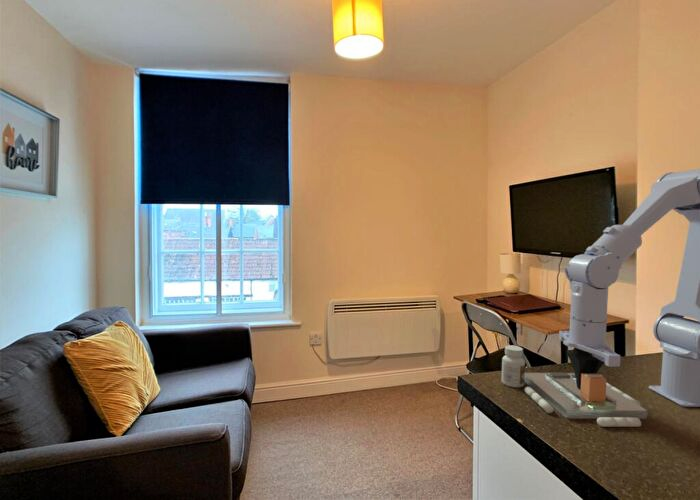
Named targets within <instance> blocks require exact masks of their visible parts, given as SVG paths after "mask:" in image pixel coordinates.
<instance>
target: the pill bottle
mask: <svg viewBox="0 0 700 500" xmlns="http://www.w3.org/2000/svg"><path fill="white" fill-rule="evenodd" d="M504 354H505V355H504V356H503V357H502V358H501V378H500V379H501V380H500V381H501V383H502V384H504V386H506V387H510V388H521V387H524V386H525V382H524V375H525V373H526V361H525V359H524V358H523V355H524V348H522V347H521V346H518V345H513V344H512V345H510V344H508V345H505V346H504Z"/></svg>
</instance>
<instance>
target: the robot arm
mask: <svg viewBox="0 0 700 500" xmlns="http://www.w3.org/2000/svg"><path fill="white" fill-rule="evenodd" d="M672 210H673V211H674V212H676V213H678V214H679V215H682V216H683V217H684V218H685V219H686V220H687V221H688V222H689V224H688V225H689V226H688V232H687V235H686V240H685V246H684V250H683V251H684V252H683V257H682V261H681V267H680V271H679V277H678V282H677V287H676V291H675V298H674V300H673V301H671V302H669V303H667V304H665V305H663V306H661V308H660V313H659V316H658V318H656V320H655V322H654V324H653V327H652V330H653V331H652V332H653V335H654V338H655V339H656V341H658V342H659V347H660V348H662V349H663V350H662V359H661V360H662V361H661V362H662V363H661V373H660V374H661V376H660V385H649V386H648V389H650V390H651V391H653V392H655V393H657V394H659V395H661V396H663V397H664V398H667V399H668V400H670V401H672V402H674V403H675V404H677V405H679V406H682V407H687V408H688V407H689V408H691V407H693V408H694V407H696V408H698V407H699V408H700V168H696V169H689V170H684V171H683V170H682V171H677V172H672V171H671V172H666V173H664V174H662V175H661V176H660V177H658V179H657V180H656V181H655V182H654V183H652V184H651V186H650V193H649V194H648V195H647V196H646V197H645V199H644V200H643V201H642V202H641V203H640V204H639V205H638V206H637V208H636V209H634V211H633V212H632V213H631V214H630V216H629V217H628V218H626V220H625V221H624V222H623V224H614V225H611V226H607V227H606V228H605V229H603V230H602V232H603V234H602V235H601V236H600V237H598V239H597V240H596V241H595V242H593V244H592V245H591V246H590V245H589V246H588V247H587V248H586V249H585V252H584V253H582V254H577V255H575V256H574V257H572V258H571V259H570V261H569V262H568V264H567V266H566V267H565V268H564V274H565V277H566V279H567V280H568V282H569V289H570V291H571V292H570V293H571V294H570V312H569V316H570V317H569V330H559V332H558V340H559V341H560V342H562V344H563V345H565V346H566V347H569V348H573V349H567V350H566V351H565V352H566V353H565V354H566V356H567V357H568V359H569V361H570V363H571V366H572V370H573V371H574V372H573V373H575V377H576V384H577V388H578V389H579V390H581V373H598V372H599V371H600V369H601V368H602V366H603V365H605V366H607V367H608V368H609V367H616V368H618V367H621V355H620V354H618V353H616V352H615V351H614V350H613V349H612V348H611V347H610V346H608V344H606V338H607V318H608V300H609V287H610V286H612V285H613V284H615V283H616V282H617V280H618V278H619V273H620V270H621V268H622V266H623V264H624V263H625V262H626V261H627V260H628V259H629V258H630V257H631V256H632V255H633V254H634V253H635V252H636V251H637V250H638V249H639V248H640V247H641V246H642V244H643V240H642V235H644V233H646V232H647V231H648V230H650V229H651V228H652V227H653V226H654V225H656V223H658V222H659V221H660V220H661V219H662V218H663V217H665V216H666V215H667V214H668V213H669V212H670V211H672Z"/></svg>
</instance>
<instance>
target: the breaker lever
mask: <svg viewBox="0 0 700 500" xmlns="http://www.w3.org/2000/svg"><path fill="white" fill-rule="evenodd" d="M606 382H607V378H606V377H604V375H603V374H599V373H598V372H597V373H581V391H580V395H581V396H582V397H583V398H585V399H586V400H587V401H596V402H605V400H606ZM607 383H608V382H607Z"/></svg>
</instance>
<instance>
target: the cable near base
mask: <svg viewBox="0 0 700 500" xmlns="http://www.w3.org/2000/svg"><path fill="white" fill-rule="evenodd" d="M606 385H607V386H608V387H610V388H612V389H613V390H615V391H616V392H618V393H620V394H621V395H623V396H625V397H626V398H628V399H629V400H631V401H633V402H634V403H636V404H638V405H639V406H641V402H640V401H639V400H637V399H635V398H633V397H631V396H630V395H628V394H627V393H625V392H623V391H622V390H620V389H618V388H616V386H613V385H612V384H611V383H608V382H606ZM641 407H642V406H641Z"/></svg>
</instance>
